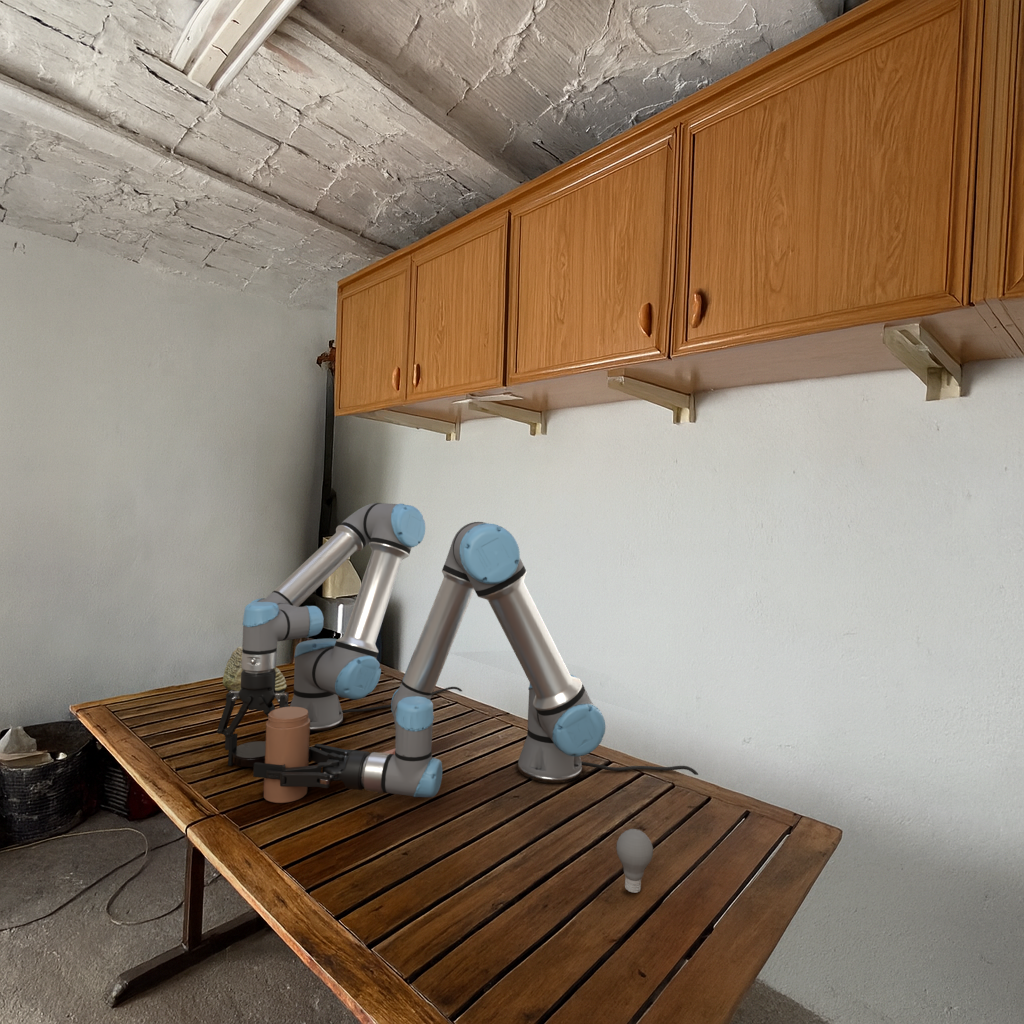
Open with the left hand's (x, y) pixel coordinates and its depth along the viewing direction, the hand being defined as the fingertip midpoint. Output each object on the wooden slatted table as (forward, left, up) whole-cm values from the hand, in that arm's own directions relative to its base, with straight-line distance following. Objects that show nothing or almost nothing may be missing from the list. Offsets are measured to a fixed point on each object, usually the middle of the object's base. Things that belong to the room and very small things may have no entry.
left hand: (254, 764), depth 148 cm
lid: (0, 0, +3) cm, 3 cm away
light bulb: (-17, +89, 0) cm, 91 cm away
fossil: (-26, -47, 0) cm, 54 cm away
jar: (+3, +18, 0) cm, 18 cm away
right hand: (+5, +14, +7) cm, 16 cm away
